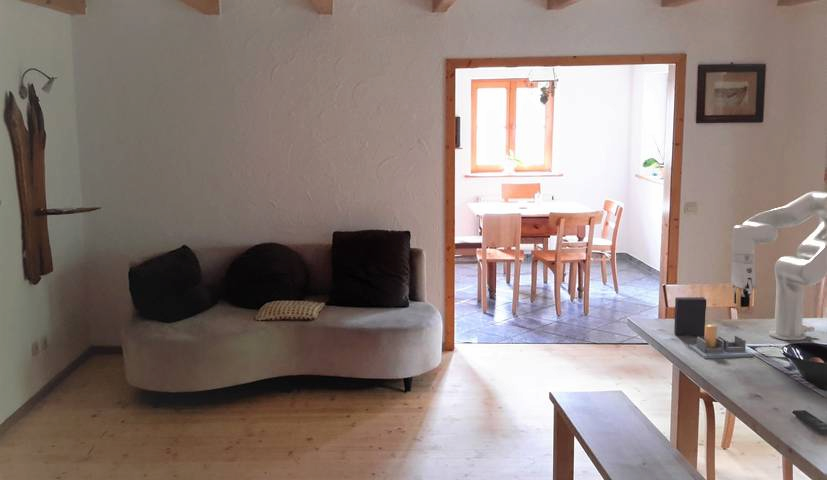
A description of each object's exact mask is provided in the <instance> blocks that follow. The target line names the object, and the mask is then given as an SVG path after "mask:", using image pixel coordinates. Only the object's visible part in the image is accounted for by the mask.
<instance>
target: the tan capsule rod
mask: <svg viewBox="0 0 827 480" xmlns="http://www.w3.org/2000/svg"><path fill="white" fill-rule="evenodd" d="M746 288H747V287H746ZM744 291H747V290H744ZM741 296H742V290H741V288H739V287H737V286H736V304H735V310H736V311H740V312H741V311H742V312H743V311H744V312H745V311H748V307H741Z"/></svg>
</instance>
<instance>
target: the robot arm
mask: <svg viewBox="0 0 827 480" xmlns="http://www.w3.org/2000/svg"><path fill="white" fill-rule="evenodd" d="M816 215H818V216H819V221H818V222H819V223H818V226H817V228H816V229H815V230H814V231H813V232H812V233H811V234H810V235H809V236H807V237H806V238H805V239H804V240H803V241H802V242H801V243H800V244H799V245H798V247H797V249H796V256H794V255H793V256H792V255H785V256H781V257H780V258H778V259H777V260H776V262H775V264H774V275H775V282H776V285H775V286H776V290H775V291H776V293H775V306H774V307H775V310H774V327H773V329H770V330H769V335H770V337H773V338H776V339H778V340H783V341H793V342H795V341H802V340H805V339H806V338H807V335H806V333H807V332H811V333H812V332H815V327H814V326H808V325H803V317H804V316H803V315H804V300H805V290H804V287H803V286H809V287H810V286H815V285H817V284H819V283H820V282H821V281H822V280H823V279H824V278H825V277H827V191H816V190H815V191H814V190H813V191H809V192H807V193H805V194H804V195H801V196H800V197H798V198H796V199H795V200H793V201H791V202H789V203H787V204H785V205H783V206H779V207H777V208H774V209H770V210H766V211H763V212H759V213H758V214H756V215H753V216H752V217H750V218H748V219H747V220H746V221H745V220H744V222H743V223H742V224H737V225H736V224H735V225H734V226H733V228H732V241H731V242H732V248H731V249H732V252H731V262H732V263H731V271H730V272H731V273H730V274H731V275H730V276H731V277H730V282H731V285H732V287H733V293H734V295H733V297H734V298H733V299H734V302H733V303H734V304H735V305H736V286H737V287H739V288H741V290H742V296H741V307H747V308H748V307H750V304H751V303H750V302H751V300H750V299H751V297H752V296H751V295H752V293H754V289H756V284H757V283H756V280H757V279H756V276H757V275H756V267H755V244H759V245H760V244H761V245H762V244H763V245H768V244H771V243H774V242H775V241H776V240H777V239H778V236H779V232H778V229H780V228H792V227H795V226H796V227H797V226H799V225H800V224H802V223H804V222H806V220H808V219H810V218H812V217H814V216H816ZM746 287H747V288H746ZM744 290H747V291H744Z"/></svg>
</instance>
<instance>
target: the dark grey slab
mask: <svg viewBox="0 0 827 480" xmlns="http://www.w3.org/2000/svg"><path fill="white" fill-rule="evenodd" d="M674 301H675V302H674V304H675V305H674V326H673V327H674V330H673V333H674V335H675V336H677V337H678V336H679V337H683V336H684V337H687V336H691V337H700V336H701V337H702V336H703V337H705V325H706V310H707V299H706V298H705V297H700V296H699V297H697V296H696V297H695V296H694V297H693V296H692V297H689V296H687V297H683V296H682V297H681V296H679V297H677V296H676V297H675V299H674Z"/></svg>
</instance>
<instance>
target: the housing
mask: <svg viewBox="0 0 827 480" xmlns="http://www.w3.org/2000/svg"><path fill="white" fill-rule="evenodd" d="M717 328H718V326H717V325H715V324H711V323H710V324H705V335H704V336H703V337H704V339H703V338H701V337H700V336H696V344H688V348H689V349H690V350H692V351H693V352H695V353H696V354H697V355H699V356H700V357H702V359H703V358H704V359H722V358H723V359H724V358H726V359H727V358H746V357H755V356H754V355H755V353H753V352H751V350H749V349H746V339H744V338H743V337H741V336H739V335H737V334H736V335H734V341H729V340H728V339H726V338H724V337H722V336H721V335H717V330H718V329H717Z"/></svg>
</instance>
